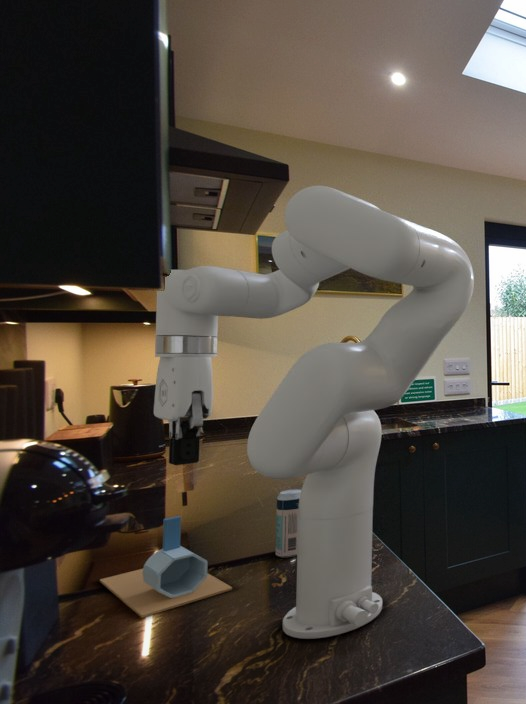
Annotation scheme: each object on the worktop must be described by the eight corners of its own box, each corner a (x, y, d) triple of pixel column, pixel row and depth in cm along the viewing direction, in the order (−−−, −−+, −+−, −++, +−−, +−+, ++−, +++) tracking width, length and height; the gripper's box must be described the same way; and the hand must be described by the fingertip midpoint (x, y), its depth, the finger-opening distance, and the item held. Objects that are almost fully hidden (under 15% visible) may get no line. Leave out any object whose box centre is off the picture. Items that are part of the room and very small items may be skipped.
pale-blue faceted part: (141, 591, 83) (143, 521, 83) (190, 578, 88) (192, 511, 89) (156, 603, 79) (158, 529, 80) (206, 588, 85) (208, 518, 85)
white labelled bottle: (311, 550, 103) (312, 488, 103) (292, 559, 98) (294, 495, 98) (288, 549, 103) (290, 488, 103) (269, 558, 98) (270, 494, 99)
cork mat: (232, 589, 85) (232, 587, 85) (141, 618, 76) (141, 615, 76) (183, 560, 97) (183, 558, 97) (99, 581, 88) (99, 579, 88)
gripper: (140, 347, 84) (137, 461, 84) (173, 347, 76) (170, 473, 76) (198, 348, 91) (195, 454, 90) (234, 348, 83) (231, 464, 82)
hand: (183, 462), depth 83 cm, fingers closed
